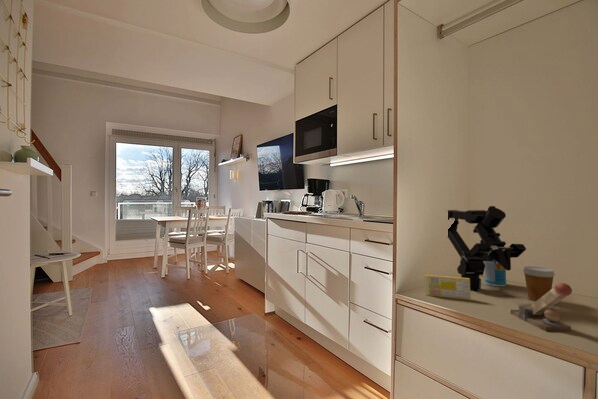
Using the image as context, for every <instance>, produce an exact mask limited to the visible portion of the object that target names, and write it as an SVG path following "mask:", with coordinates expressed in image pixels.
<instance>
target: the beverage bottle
mask: <svg viewBox="0 0 598 399" xmlns="http://www.w3.org/2000/svg"><path fill="white" fill-rule="evenodd" d="M501 241H502V242H504V240H501ZM483 262H484V264H485V269H484V283H485V284H487V285H489V286H493V287H506V286H507V270H506V269H505V268H504V267H503V266H501V265H500V264H499V263H498V262H497V261H495V260H493V261H483Z"/></svg>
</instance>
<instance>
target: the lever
mask: <svg viewBox="0 0 598 399" xmlns="http://www.w3.org/2000/svg"><path fill="white" fill-rule="evenodd" d="M572 292H573V288H572V287H571V286H570V285H569V284H567V283H566V282H565V283H564V282H559V283H556V285H555V286H554V287H552V289H551V290H550V291H549V292H547V293H546V294H545V295H543V296H542V297H541V298H540V299H538V300H537V301H534V302H533V303H532V304H531V305H529V306H528V307H527V308H528V312H529V315H543V313H544V312H545V311H546V310H547V309H552V308H553V306H555V305H557V304H558V303H559V302H561V301H562V300H563V299H565V298H566V297H567V296H570V295H571V294H572Z"/></svg>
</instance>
